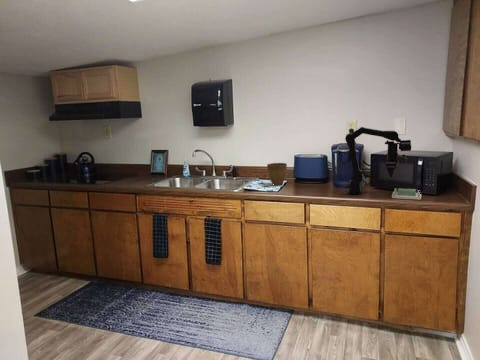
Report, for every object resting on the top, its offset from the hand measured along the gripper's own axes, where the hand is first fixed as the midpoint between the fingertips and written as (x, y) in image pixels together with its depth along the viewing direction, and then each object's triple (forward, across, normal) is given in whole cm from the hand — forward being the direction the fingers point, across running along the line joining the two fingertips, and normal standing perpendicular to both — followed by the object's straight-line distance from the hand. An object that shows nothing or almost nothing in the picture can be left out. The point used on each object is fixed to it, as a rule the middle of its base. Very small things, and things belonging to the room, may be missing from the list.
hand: (391, 175), depth 223 cm
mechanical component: (+12, +3, +18) cm, 22 cm away
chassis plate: (+12, -3, -9) cm, 15 cm away
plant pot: (+12, +11, +81) cm, 83 cm away
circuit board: (+11, -3, -9) cm, 14 cm away
